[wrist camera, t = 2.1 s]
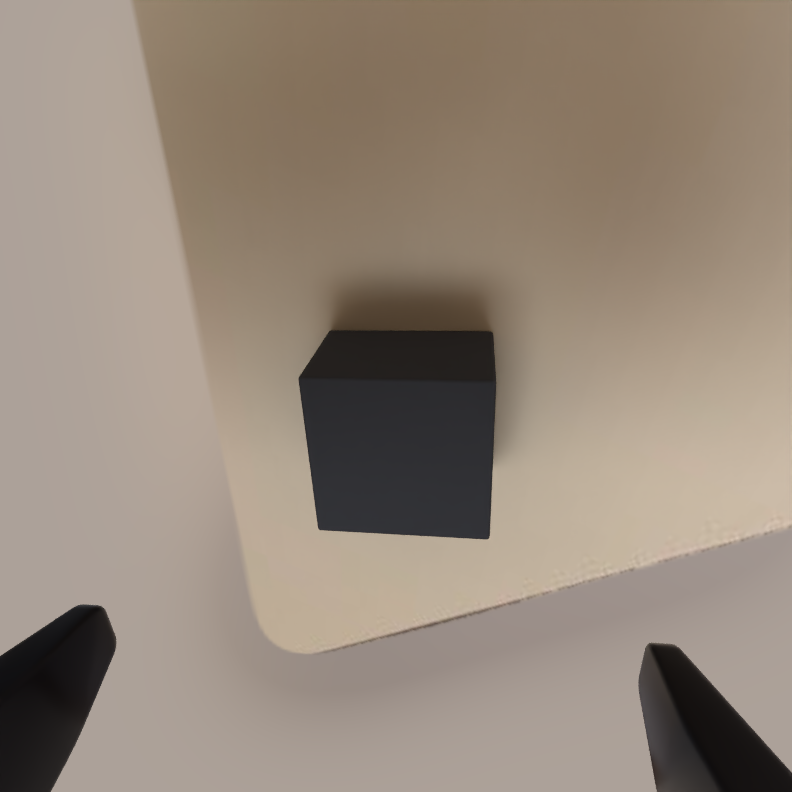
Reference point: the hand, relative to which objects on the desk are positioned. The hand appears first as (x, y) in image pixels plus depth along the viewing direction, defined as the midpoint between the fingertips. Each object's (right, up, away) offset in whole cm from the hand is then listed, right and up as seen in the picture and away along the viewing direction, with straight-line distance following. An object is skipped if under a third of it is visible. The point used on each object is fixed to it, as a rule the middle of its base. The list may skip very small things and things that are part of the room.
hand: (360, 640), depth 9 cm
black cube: (+1, +4, +9) cm, 10 cm away
